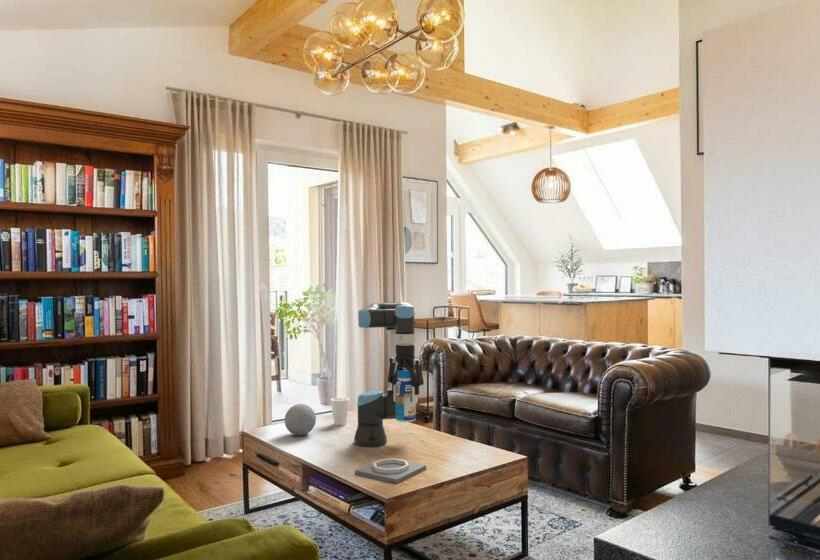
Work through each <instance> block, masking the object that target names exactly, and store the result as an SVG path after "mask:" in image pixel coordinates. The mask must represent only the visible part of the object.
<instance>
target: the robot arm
mask: <svg viewBox="0 0 820 560" xmlns="http://www.w3.org/2000/svg"><path fill="white" fill-rule="evenodd" d="M357 312H358V315H357V316H358V318H357V319H358V327H359V328H363V329H374V328H385V332H386V334H388V335H389V336H388V337H389V368H388V376H387V383H389V384H390V385H389V387H388V388H387V390H386V393H383V390H378V389H374V390H368V391H364V392H362V393H359V395H358V396H357V404H356V406H357V427H356V431H355V434H354V437H353V440H354V441H353V442H354V445H356V446H361V447H379V446H383V445H385V444H387V442H388V437H387V435H386V431H385V427H384V423H383V422H384V420H396V418H395V417H396V409H395V391H396V388H395V385H396V383H397V381H398V378H397V370H402V369H404V368H407V370H408V371H410V376H411V379H412V382H413V384H414V386H413V387H412V404H415V403H416V404H417V403H418V401H419V400H418V398H419V397H418V396H419V395H420V386H423V385H424V382H425V381H424V377H423V371H422V359H417V358H415V353H416V352H415V349H416V348H415V347H416V346H415V345H414V344H415V341H416V340H415V338H416V337H415V315H416V314H415V306H414V305H412V304H410V303H408V302H402V301H399V302H376V303H371V304H368V305H365V306H364V307H363V308H362V309H359V310H358V311H357Z"/></svg>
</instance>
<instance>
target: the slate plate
mask: <svg viewBox="0 0 820 560" xmlns="http://www.w3.org/2000/svg"><path fill="white" fill-rule="evenodd" d="M426 470H427V465H426V464H421V463H415V462H413V461H412V462H411V461H408V460H405V459H399V458H391V457H387V456H385V457H383V458H381V459H378V460H376V461H373V462H371V463H368V464H366V465H364V466H362V467H359V468H357V469H355V470H354V474H355V475H357V476H362V477H366V478H370V477H371V479H375V478H376V480H379V479H381V480H380V481H384V480H385V482H388V481H390V482H389V483H392V482H394V483H393V484H398V482H399V483H400V481H401V482H403V481H405V480H407V479H409V478H411V477H412V475H413V476H415V475H417V474H419V473H421V472H424V471H426ZM418 472H419V473H418ZM416 473H417V474H416ZM414 474H415V475H414ZM410 476H411V477H410ZM408 477H409V478H408Z"/></svg>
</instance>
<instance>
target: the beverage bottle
mask: <svg viewBox="0 0 820 560" xmlns="http://www.w3.org/2000/svg"><path fill="white" fill-rule="evenodd" d="M397 378H398V381H397V383H396V385H395V388H396V391H395V409H396V417H395V418H396V419H395V420H396V422H398V423H412V422H414V421H416V419H417V403H415V404H412V387H413V386H414V384H413V382H412V379H411V376H410V371H408V370H407V368H404V369H402V370H397Z"/></svg>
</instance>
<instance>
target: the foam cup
mask: <svg viewBox="0 0 820 560" xmlns="http://www.w3.org/2000/svg"><path fill="white" fill-rule="evenodd" d="M349 404H350V398H349V397H343V396H342V397H333V398H331V399H330V406H331V411H332V419H333V425H334V424H335V426H337V425H342V426H345V424H346V425H347V422H348V421H347V420H348V411H349Z"/></svg>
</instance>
